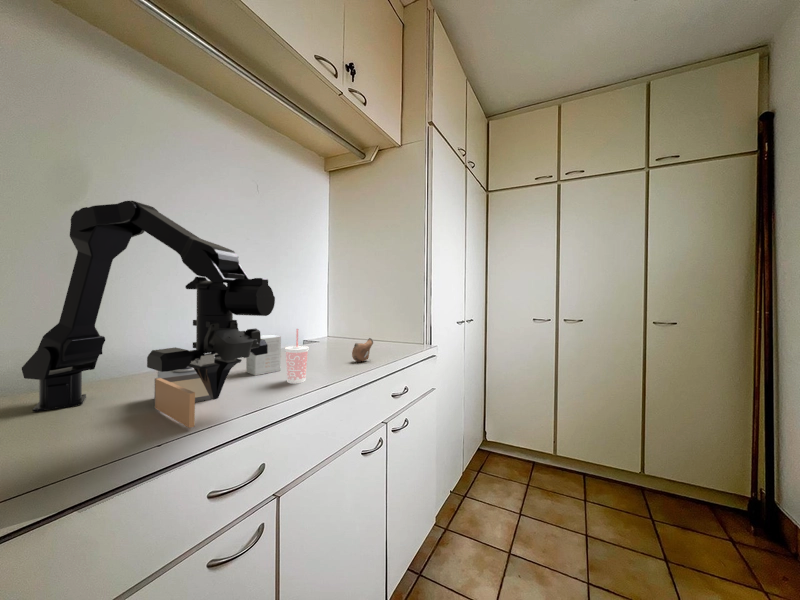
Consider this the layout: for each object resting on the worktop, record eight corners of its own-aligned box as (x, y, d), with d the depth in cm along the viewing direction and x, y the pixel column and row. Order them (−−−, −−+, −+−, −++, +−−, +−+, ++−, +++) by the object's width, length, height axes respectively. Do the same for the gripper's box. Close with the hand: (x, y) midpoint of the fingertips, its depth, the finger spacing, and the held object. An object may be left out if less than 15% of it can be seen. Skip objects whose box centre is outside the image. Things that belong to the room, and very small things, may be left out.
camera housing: (157, 397, 67) (157, 367, 66) (210, 389, 73) (211, 361, 73) (159, 408, 60) (159, 375, 60) (217, 398, 67) (217, 368, 67)
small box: (271, 367, 95) (272, 334, 95) (281, 370, 92) (281, 336, 92) (245, 372, 89) (246, 336, 89) (254, 376, 86) (255, 338, 85)
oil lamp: (369, 358, 112) (370, 337, 112) (376, 360, 109) (377, 338, 109) (349, 362, 106) (350, 339, 105) (356, 364, 103) (357, 340, 103)
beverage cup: (279, 382, 80) (279, 329, 80) (294, 376, 86) (295, 327, 85) (298, 385, 78) (299, 330, 77) (313, 379, 83) (314, 328, 83)
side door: (159, 406, 60) (159, 377, 60) (194, 426, 52) (195, 392, 52) (153, 407, 60) (153, 378, 59) (188, 428, 51) (189, 393, 51)
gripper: (179, 320, 44) (179, 427, 44) (286, 314, 60) (285, 392, 60) (145, 316, 50) (145, 411, 50) (251, 311, 66) (250, 383, 66)
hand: (214, 398), depth 56 cm, fingers closed
